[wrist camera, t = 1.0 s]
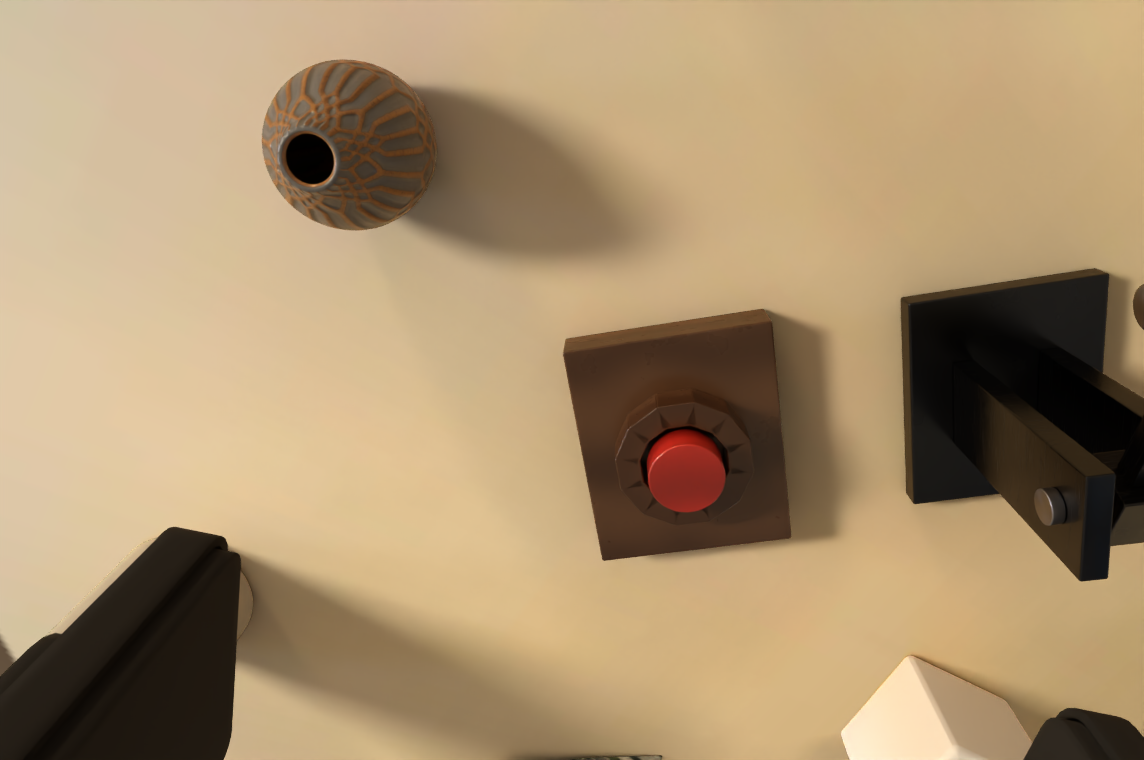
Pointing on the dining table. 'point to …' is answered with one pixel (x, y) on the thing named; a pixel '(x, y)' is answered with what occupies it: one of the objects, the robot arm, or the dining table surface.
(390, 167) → the vase
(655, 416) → the housing
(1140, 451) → the switch lever
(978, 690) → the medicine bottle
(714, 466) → the button
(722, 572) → the dining table surface
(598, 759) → the eiffel tower figurine
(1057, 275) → the switch bracket
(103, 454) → the dining table surface
